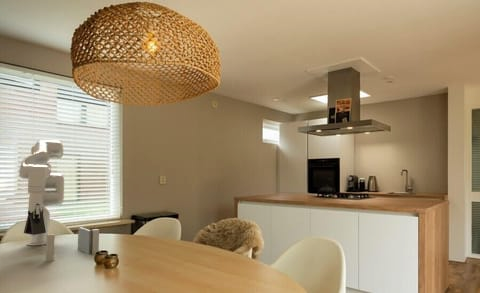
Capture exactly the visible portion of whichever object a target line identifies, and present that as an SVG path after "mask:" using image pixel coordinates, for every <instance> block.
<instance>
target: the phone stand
mask: <svg viewBox="0 0 480 293" xmlns="http://www.w3.org/2000/svg"><path fill="white" fill-rule="evenodd" d="M35 212H36V211H34V213H35ZM42 233H46V229H45V224H44V218H43V209H42V211H41V212H40V223H39V222H38V225H37V224H36V223H34V219H33V212H32V213H30V212H29V210H28V209H27V218H26V221H25V227H24V230H23V234H27V235H30V236H31V235H37V234H42Z"/></svg>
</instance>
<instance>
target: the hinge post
mask: <svg viewBox="0 0 480 293" xmlns="http://www.w3.org/2000/svg"><path fill="white" fill-rule="evenodd" d="M91 230H92V251H91V254H90V255H96V254H95V253H96V252H98V251H99V250H100V249H99V248H100V247H99V246H100V229H99V228H94V229H91Z"/></svg>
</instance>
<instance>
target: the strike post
mask: <svg viewBox="0 0 480 293" xmlns="http://www.w3.org/2000/svg"><path fill="white" fill-rule="evenodd" d="M55 236H56V235H55V233H49V234H47V236H46V244H45V262H53V261H54V260H55V259H54V258H55V241H56V240H55Z"/></svg>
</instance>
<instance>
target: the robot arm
mask: <svg viewBox="0 0 480 293" xmlns="http://www.w3.org/2000/svg"><path fill="white" fill-rule="evenodd" d="M30 149H31V150H30V152H31V153H30V155H27V156H26V157H25V158H24V159H22V160H21V163H20V167H19V171H18V175H19V177H20V178H21V179H23V180H28V183H27V194H29V195H28V196H29V198H28V205H27V206H28V208H27V211H28V210H29V212H30V213H32V212H33V219H34V223H36V224H37V225H38V222H39V223H40V212H41V211H42V209H43V218H44V224H45V229H46V233H42V234H37V235H31V234H30V238H29V240H30V241H28V242H26V245H28V246H44V245H46V236H47V234H50V218H51V213H50V211H49V210H48V208H46V207H55V206H61V205H62V204H63V203H64V197H65V177H64V175H63V174H62V173H52V165H51V164H50V162H49V161H50V160H51V159H61V158H62V157H63V156H64V146H63V143H62V142H61V141H59V140H46V139H44V140H42V139H41V140H39V141H36V142H35V144H34V145H33V146H31V148H30ZM49 189H50V190H49ZM34 211H36V212H35V213H34Z"/></svg>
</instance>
